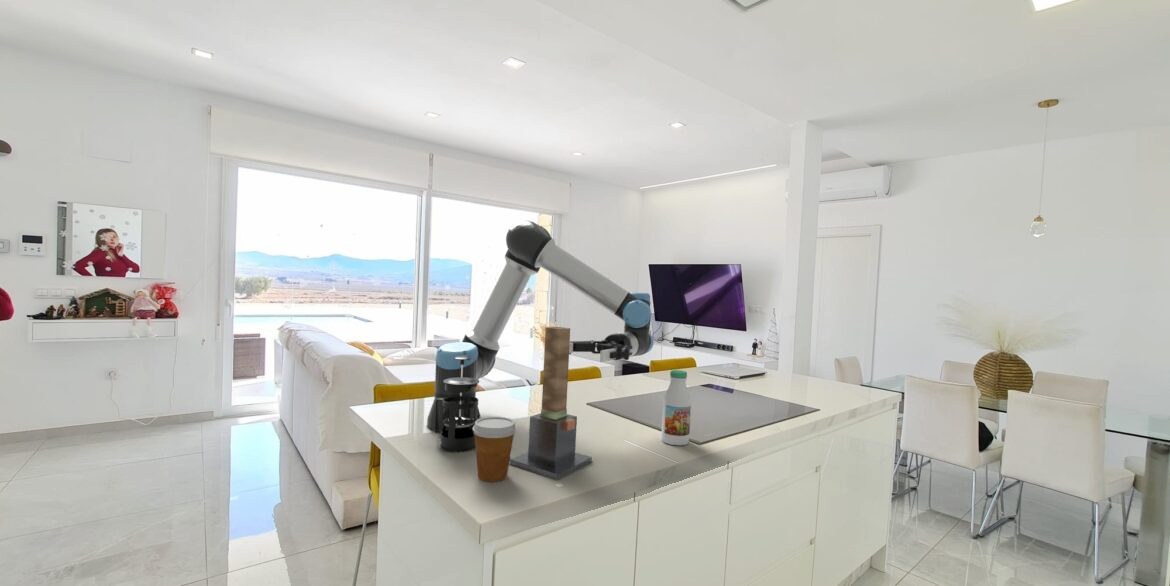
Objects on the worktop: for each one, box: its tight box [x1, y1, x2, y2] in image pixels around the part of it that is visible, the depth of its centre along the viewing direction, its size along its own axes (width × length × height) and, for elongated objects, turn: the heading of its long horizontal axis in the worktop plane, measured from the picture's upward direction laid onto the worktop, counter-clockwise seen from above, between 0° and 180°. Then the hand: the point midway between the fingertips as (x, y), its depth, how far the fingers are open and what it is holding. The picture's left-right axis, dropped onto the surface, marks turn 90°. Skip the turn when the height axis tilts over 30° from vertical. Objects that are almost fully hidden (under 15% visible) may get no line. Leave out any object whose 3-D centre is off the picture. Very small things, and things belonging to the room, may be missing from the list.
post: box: [540, 326, 571, 421], centre depth 116 cm, size 4×4×24 cm
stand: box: [509, 412, 593, 481], centre depth 117 cm, size 14×14×11 cm
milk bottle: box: [660, 369, 692, 446], centre depth 137 cm, size 8×8×20 cm
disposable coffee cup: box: [473, 416, 517, 483], centre depth 107 cm, size 10×10×12 cm
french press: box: [434, 356, 480, 453], centre depth 125 cm, size 12×9×23 cm
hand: (578, 352), depth 124 cm, fingers open, 13 cm apart
